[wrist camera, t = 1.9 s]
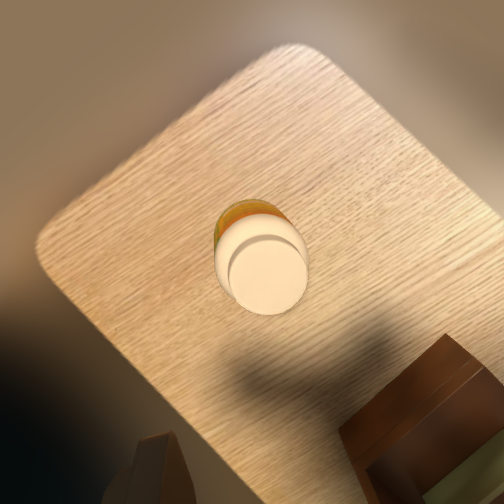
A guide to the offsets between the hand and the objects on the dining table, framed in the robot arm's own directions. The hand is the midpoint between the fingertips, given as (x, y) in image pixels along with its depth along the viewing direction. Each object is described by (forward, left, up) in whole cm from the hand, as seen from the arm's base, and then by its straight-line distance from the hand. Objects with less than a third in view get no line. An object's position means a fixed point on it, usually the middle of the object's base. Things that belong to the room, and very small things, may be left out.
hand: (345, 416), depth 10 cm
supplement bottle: (+1, 0, -21) cm, 21 cm away
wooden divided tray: (+2, +27, -21) cm, 34 cm away
